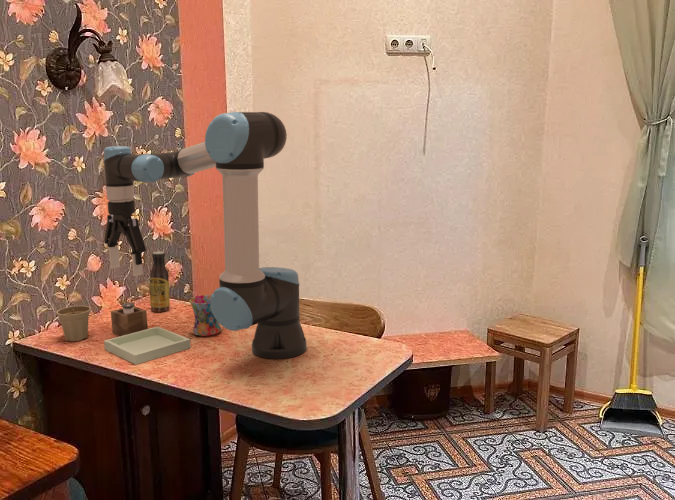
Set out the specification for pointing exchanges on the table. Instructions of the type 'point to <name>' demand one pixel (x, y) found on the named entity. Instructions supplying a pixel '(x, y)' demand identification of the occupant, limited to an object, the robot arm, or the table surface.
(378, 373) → the table surface
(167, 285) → the sauce bottle
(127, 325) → the collar
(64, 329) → the flower pot
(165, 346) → the tray
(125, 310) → the grey salt shaker
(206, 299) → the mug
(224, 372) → the table surface
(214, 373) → the table surface
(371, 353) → the table surface
